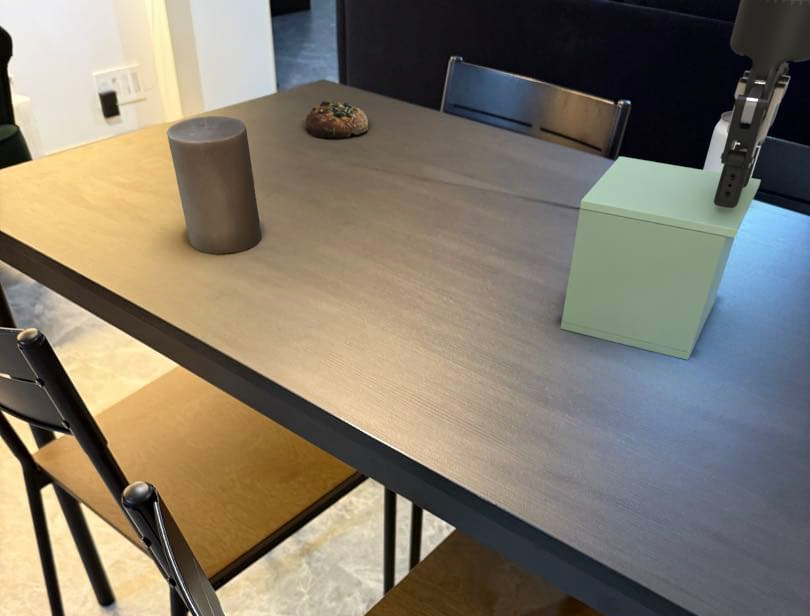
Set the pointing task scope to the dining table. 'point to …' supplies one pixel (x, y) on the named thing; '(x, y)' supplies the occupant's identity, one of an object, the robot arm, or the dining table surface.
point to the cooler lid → (668, 196)
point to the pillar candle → (215, 183)
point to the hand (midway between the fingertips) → (730, 194)
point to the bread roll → (336, 120)
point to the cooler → (642, 282)
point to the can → (720, 145)
